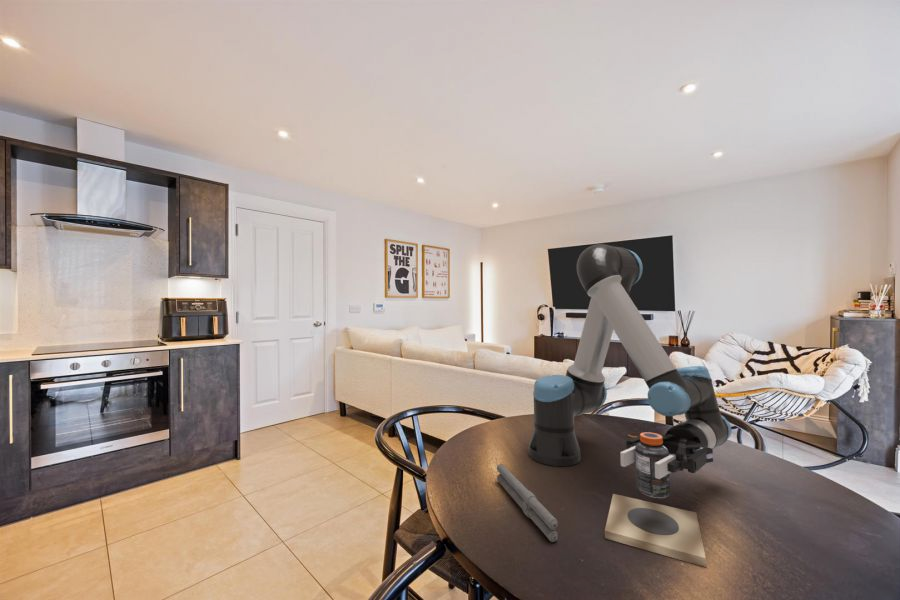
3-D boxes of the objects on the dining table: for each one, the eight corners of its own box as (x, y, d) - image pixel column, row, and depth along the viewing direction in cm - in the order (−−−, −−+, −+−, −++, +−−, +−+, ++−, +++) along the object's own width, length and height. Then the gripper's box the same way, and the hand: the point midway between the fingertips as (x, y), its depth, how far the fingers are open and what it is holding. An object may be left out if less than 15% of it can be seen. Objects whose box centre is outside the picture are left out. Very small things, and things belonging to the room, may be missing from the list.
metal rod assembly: (495, 483, 93) (495, 463, 93) (505, 481, 93) (505, 462, 93) (548, 546, 68) (548, 519, 68) (561, 544, 69) (561, 517, 69)
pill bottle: (668, 487, 74) (666, 432, 74) (672, 501, 69) (670, 441, 69) (635, 482, 77) (634, 428, 77) (637, 495, 71) (635, 437, 72)
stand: (604, 538, 70) (604, 529, 70) (613, 500, 84) (612, 492, 84) (705, 567, 62) (705, 557, 62) (696, 519, 76) (696, 511, 76)
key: (668, 453, 112) (642, 436, 127) (669, 450, 112) (642, 433, 127) (650, 452, 112) (626, 435, 127) (650, 449, 112) (626, 432, 127)
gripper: (741, 470, 75) (695, 505, 62) (648, 444, 91) (595, 468, 77) (739, 433, 76) (693, 461, 62) (647, 414, 91) (594, 432, 78)
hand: (639, 465), depth 70 cm, fingers closed on pill bottle, 6 cm apart
